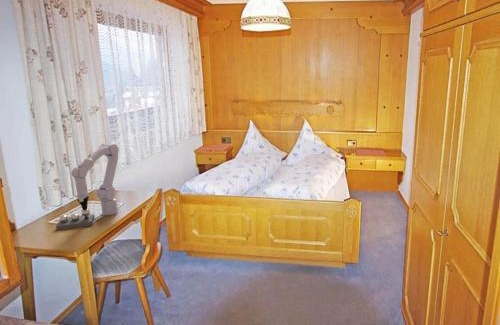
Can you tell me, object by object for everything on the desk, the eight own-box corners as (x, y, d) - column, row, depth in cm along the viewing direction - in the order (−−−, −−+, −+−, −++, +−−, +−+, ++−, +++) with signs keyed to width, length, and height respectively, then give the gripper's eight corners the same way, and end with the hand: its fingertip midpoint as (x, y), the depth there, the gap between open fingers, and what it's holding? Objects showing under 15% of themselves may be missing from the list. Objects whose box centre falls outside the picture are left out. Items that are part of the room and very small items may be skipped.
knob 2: (91, 216, 225) (89, 207, 224) (90, 219, 221) (88, 210, 220) (83, 217, 224) (81, 208, 223) (82, 220, 220) (80, 211, 219)
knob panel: (94, 217, 230) (94, 213, 229) (92, 225, 218) (91, 221, 218) (60, 222, 225) (60, 218, 224) (56, 230, 214) (55, 226, 213)
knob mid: (80, 221, 224) (79, 212, 223) (79, 224, 220) (78, 215, 219) (72, 222, 223) (71, 213, 222) (71, 225, 219) (70, 216, 218)
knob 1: (70, 223, 223) (68, 214, 221) (68, 225, 219) (67, 217, 217) (61, 224, 222) (60, 215, 220) (60, 227, 218) (58, 218, 216)
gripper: (76, 184, 223) (79, 206, 227) (71, 192, 210) (75, 214, 213) (88, 183, 225) (92, 204, 229) (85, 190, 212) (88, 213, 215)
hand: (85, 209), depth 221 cm, fingers closed
